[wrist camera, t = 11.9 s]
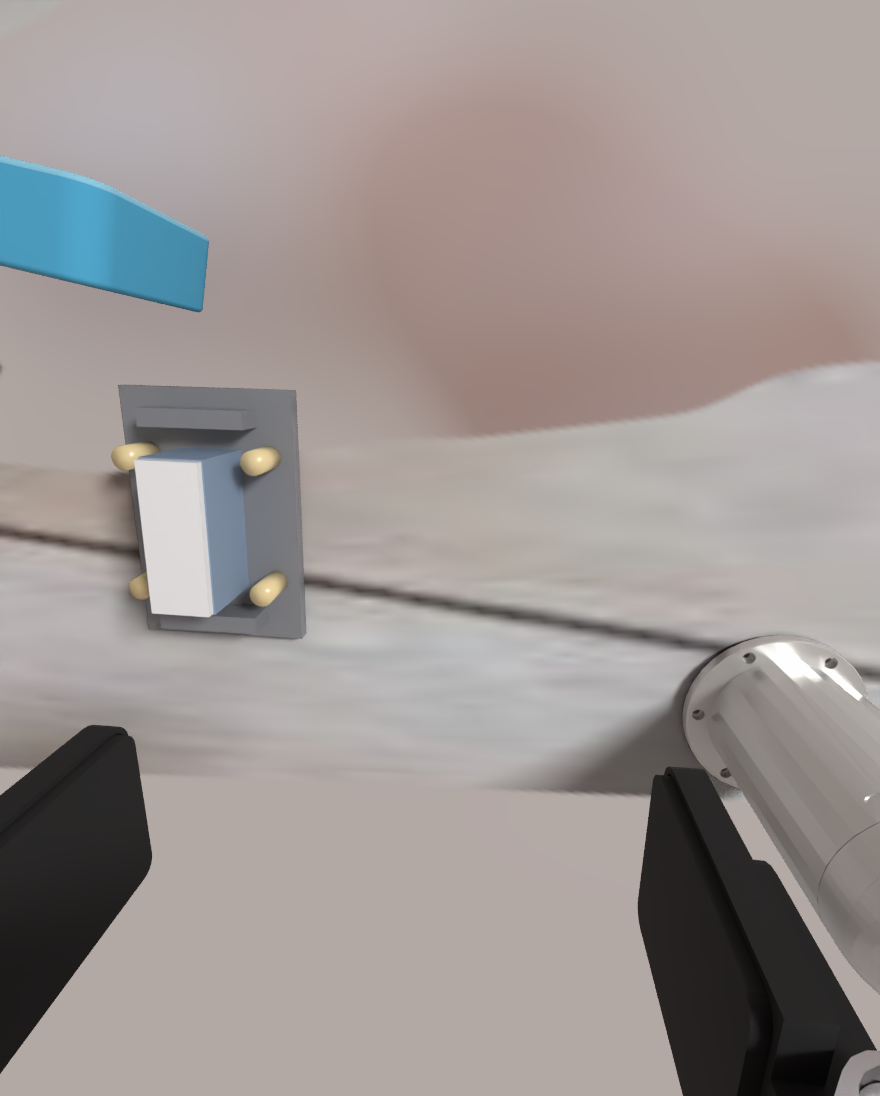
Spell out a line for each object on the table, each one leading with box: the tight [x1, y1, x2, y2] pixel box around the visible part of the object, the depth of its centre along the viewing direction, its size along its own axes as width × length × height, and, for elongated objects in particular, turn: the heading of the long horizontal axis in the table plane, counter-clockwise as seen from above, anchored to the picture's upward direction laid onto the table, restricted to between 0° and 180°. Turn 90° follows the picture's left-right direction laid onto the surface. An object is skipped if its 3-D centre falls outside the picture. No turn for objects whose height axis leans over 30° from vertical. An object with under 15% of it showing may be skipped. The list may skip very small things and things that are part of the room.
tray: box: [111, 385, 306, 639], centre depth 40 cm, size 12×18×4 cm, turn 178°
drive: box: [134, 447, 249, 617], centre depth 38 cm, size 4×10×6 cm, turn 178°
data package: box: [0, 156, 209, 312], centre depth 31 cm, size 12×4×12 cm, turn 77°
